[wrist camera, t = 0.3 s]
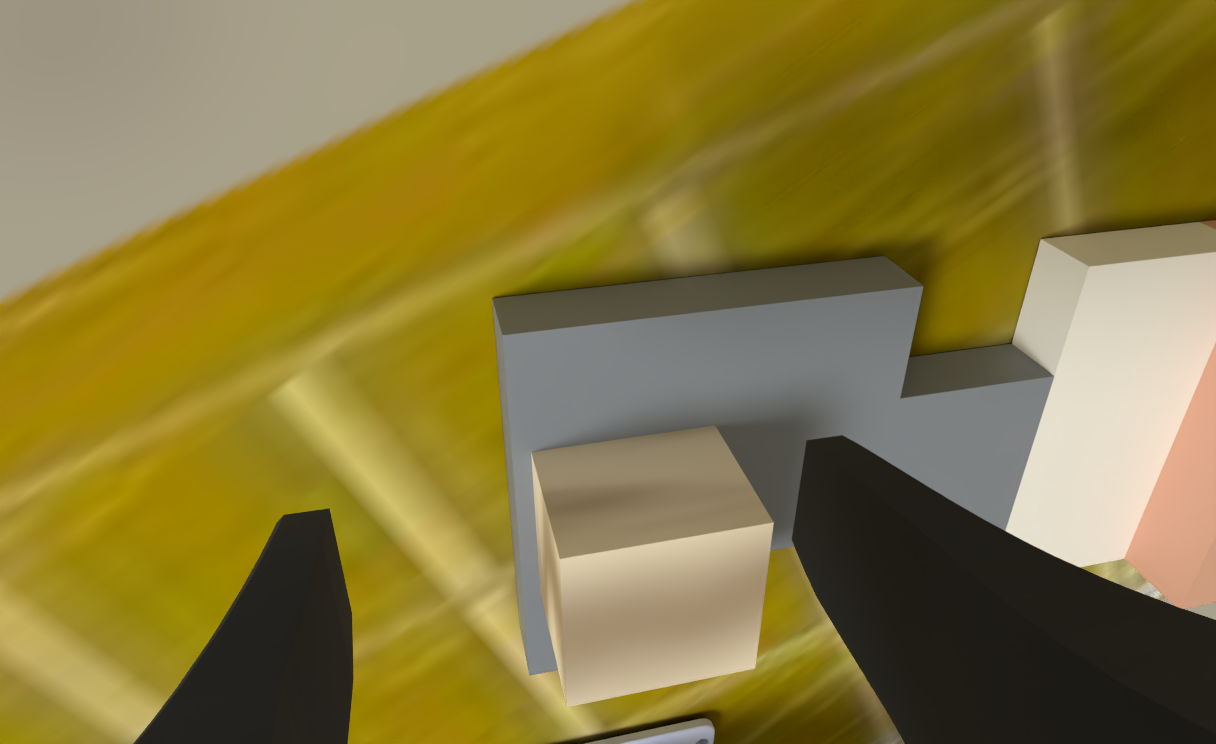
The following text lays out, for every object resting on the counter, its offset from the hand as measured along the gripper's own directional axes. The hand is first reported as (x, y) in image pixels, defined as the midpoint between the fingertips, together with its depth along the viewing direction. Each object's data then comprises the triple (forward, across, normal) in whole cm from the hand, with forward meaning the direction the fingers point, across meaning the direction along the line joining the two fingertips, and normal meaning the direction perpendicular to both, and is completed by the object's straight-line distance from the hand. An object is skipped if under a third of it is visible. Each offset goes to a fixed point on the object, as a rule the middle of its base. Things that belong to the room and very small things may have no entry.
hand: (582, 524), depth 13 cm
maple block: (+8, -3, +7) cm, 11 cm away
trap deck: (+10, -11, +7) cm, 17 cm away
